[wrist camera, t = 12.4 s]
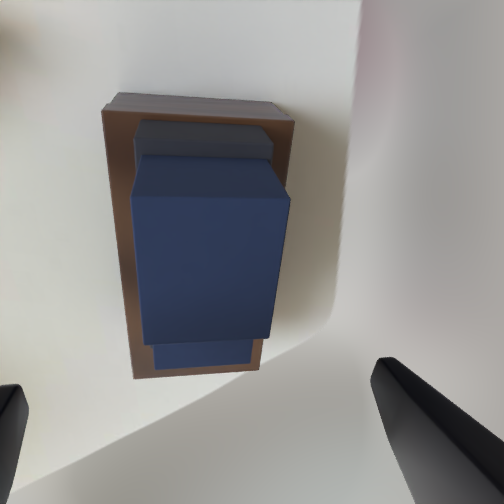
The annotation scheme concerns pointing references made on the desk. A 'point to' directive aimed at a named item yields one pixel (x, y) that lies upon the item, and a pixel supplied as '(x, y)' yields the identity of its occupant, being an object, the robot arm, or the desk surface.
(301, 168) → the desk surface
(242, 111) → the shelf
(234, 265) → the stepped navy block
